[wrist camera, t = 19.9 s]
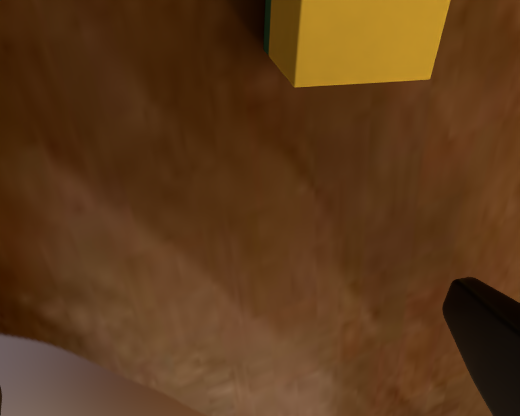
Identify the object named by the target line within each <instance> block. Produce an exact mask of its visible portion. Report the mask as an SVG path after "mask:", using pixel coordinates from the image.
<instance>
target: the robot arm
mask: <svg viewBox="0 0 520 416" xmlns="http://www.w3.org/2000/svg"><path fill="white" fill-rule="evenodd" d="M443 315H444V318H445V320H446V322H447V325H448V327H449V329H450V331H451V333H452V336H453V338H454V340H455V342H456V344H457V347H458V349H459V351H460V353H461V355H462V358H463V360H464V362H465V364H466V366H467V369H468V371H469V373H470V375H471V377H472V379H473V381H474V383H475V385H476V387H477V388H478V390H479V392H480V394H481V396H482V397H483V399H484V401H485V403H486V404H487V406H488V408H489V409H490V411H491V413H492V415H493V416H520V303H519V302H517V301H515V300H513V299H512V298H510V297H508V296H506V295H504V294H503V293H501V292H499V291H497V290H496V289H494V288H492V287H490V286H488V285H487V284H485V283H483V282H481V281H480V280H478V279H476V278H473V277H467V278H461V279H456V280H454V281H453V282H452V283H451V286H450V288H449V291H448V293H447V296H446V298H445V301H444V303H443ZM1 403H2V393H1V387H0V415H1Z"/></svg>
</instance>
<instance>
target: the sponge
mask: <svg viewBox="0 0 520 416" xmlns="http://www.w3.org/2000/svg"><path fill="white" fill-rule="evenodd" d="M449 4H450V0H265V24H264V48H263V49H264V51H265V52H266V53H267V54H268V55H269V57H270V58H271V60H272V61H273V62H274V63H275V64H276V66H277V67H278V68H279V69H280V71H281V72H282V73H283V74H284V76H285V77H286V78H287V79H288V80H289V82H290V83H291V84H292V85H293V87H308V86H325V85H342V84H359V83H376V82H393V81H410V80H427V79H430V76H431V73H432V69H433V65H434V61H435V57H436V53H437V50H438V46H439V42H440V38H441V34H442V30H443V27H444V23H445V19H446V15H447V11H448V7H449Z"/></svg>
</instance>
